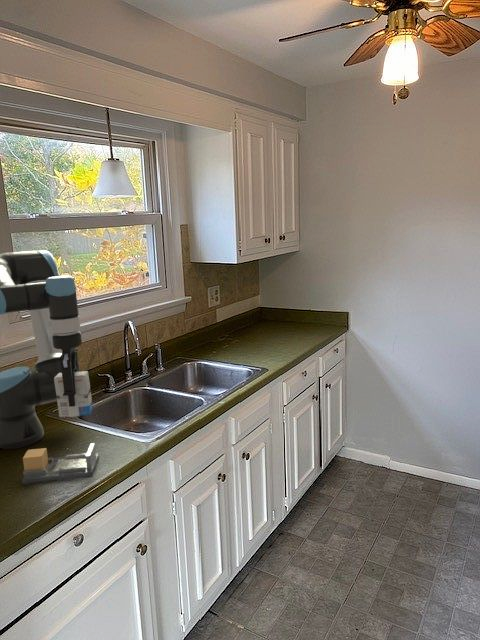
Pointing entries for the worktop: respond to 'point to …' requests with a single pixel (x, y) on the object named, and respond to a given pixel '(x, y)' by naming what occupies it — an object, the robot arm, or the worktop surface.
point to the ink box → (81, 389)
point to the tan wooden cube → (35, 459)
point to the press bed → (65, 467)
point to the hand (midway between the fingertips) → (75, 412)
